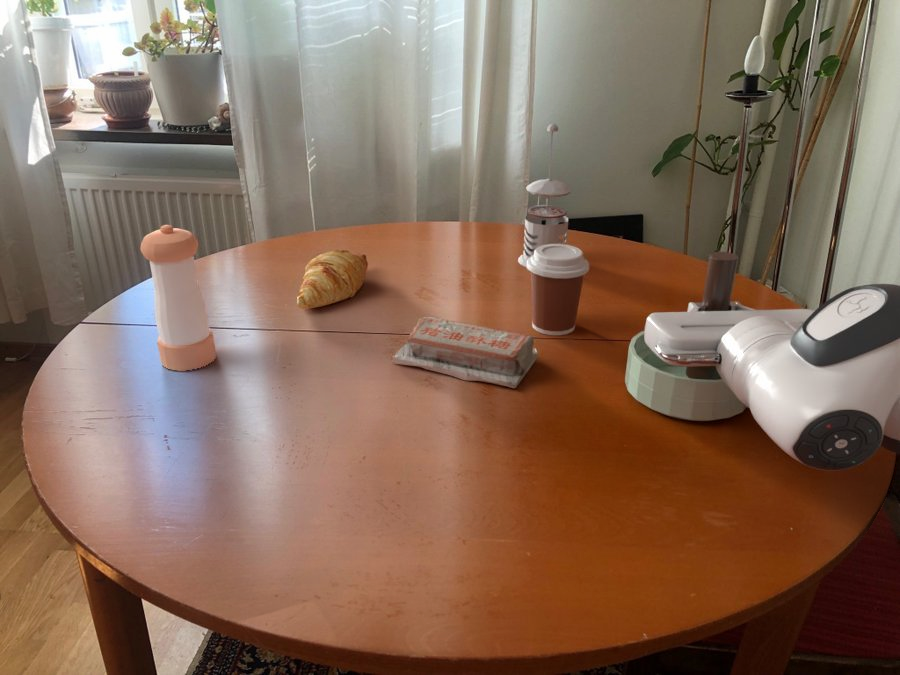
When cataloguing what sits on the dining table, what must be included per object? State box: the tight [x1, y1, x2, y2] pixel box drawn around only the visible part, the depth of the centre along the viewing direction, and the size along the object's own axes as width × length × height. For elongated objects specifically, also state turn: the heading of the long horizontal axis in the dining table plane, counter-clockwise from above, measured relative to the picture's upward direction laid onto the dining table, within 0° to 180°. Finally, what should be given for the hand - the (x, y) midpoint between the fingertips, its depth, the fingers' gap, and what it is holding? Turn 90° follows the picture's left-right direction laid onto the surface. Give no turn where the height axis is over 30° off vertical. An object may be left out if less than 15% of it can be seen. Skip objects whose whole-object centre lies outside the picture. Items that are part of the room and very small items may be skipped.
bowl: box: [624, 330, 748, 422], centre depth 93 cm, size 15×15×6 cm
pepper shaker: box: [139, 224, 217, 372], centre depth 98 cm, size 7×7×19 cm
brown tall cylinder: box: [686, 251, 739, 380], centre depth 91 cm, size 4×4×16 cm
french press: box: [517, 123, 573, 268], centre depth 134 cm, size 10×12×25 cm
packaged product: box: [391, 316, 539, 389], centre depth 101 cm, size 18×5×10 cm
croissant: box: [296, 250, 369, 310], centre depth 124 cm, size 21×10×8 cm, turn 160°
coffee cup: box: [526, 243, 590, 336], centre depth 110 cm, size 9×9×12 cm
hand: (712, 307), depth 91 cm, fingers closed on brown tall cylinder, 3 cm apart
